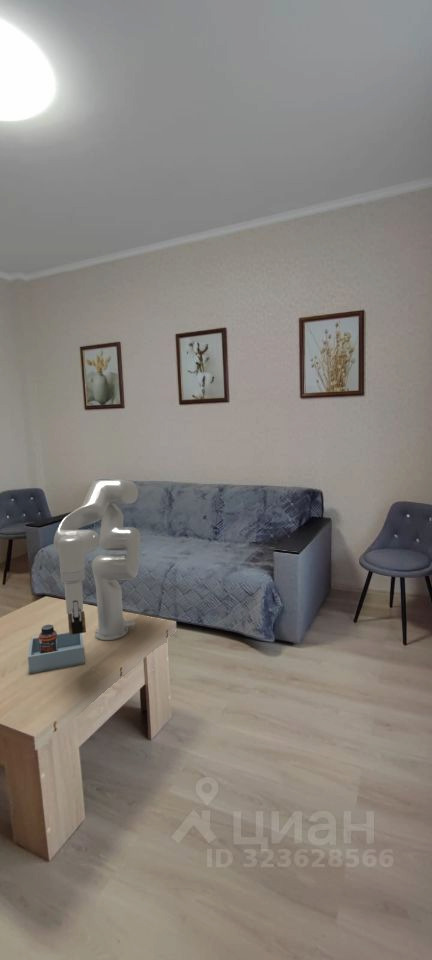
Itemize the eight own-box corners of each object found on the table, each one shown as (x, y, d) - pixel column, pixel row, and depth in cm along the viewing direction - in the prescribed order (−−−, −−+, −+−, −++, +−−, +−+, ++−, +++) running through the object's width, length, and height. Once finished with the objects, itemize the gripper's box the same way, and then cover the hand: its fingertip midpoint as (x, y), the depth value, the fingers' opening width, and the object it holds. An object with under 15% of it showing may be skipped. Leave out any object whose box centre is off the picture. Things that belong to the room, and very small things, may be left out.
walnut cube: (85, 625, 150) (84, 611, 149) (86, 632, 145) (84, 617, 144) (69, 628, 148) (68, 613, 147) (69, 635, 143) (68, 620, 143)
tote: (82, 644, 170) (81, 630, 170) (84, 663, 157) (83, 647, 156) (32, 653, 165) (30, 638, 164) (29, 673, 151) (28, 657, 150)
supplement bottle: (40, 663, 156) (38, 631, 155) (40, 655, 161) (37, 625, 160) (59, 659, 158) (56, 628, 157) (57, 651, 164) (55, 621, 162)
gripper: (60, 568, 151) (64, 620, 153) (60, 585, 135) (65, 643, 137) (84, 565, 153) (87, 616, 156) (86, 581, 137) (91, 638, 140)
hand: (77, 628), depth 146 cm, fingers closed on walnut cube, 5 cm apart
